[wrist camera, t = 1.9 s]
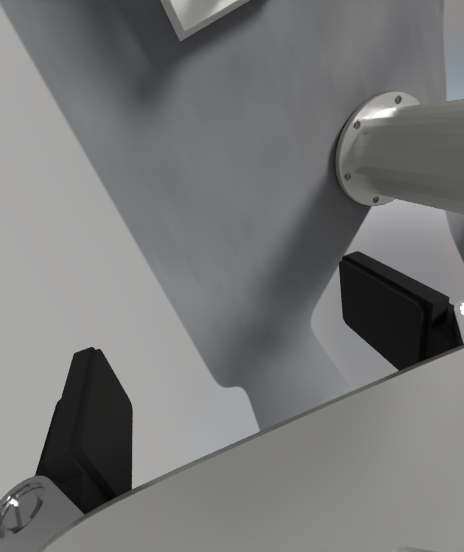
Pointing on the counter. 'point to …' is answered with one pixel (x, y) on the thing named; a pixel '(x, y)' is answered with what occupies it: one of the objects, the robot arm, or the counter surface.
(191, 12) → the socket block
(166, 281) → the counter surface
